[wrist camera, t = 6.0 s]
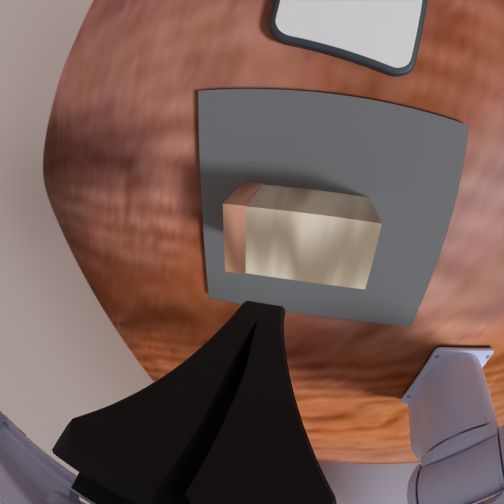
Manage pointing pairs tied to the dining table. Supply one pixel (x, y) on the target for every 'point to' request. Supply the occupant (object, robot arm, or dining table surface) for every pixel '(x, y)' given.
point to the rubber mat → (333, 189)
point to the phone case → (354, 30)
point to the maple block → (300, 234)
